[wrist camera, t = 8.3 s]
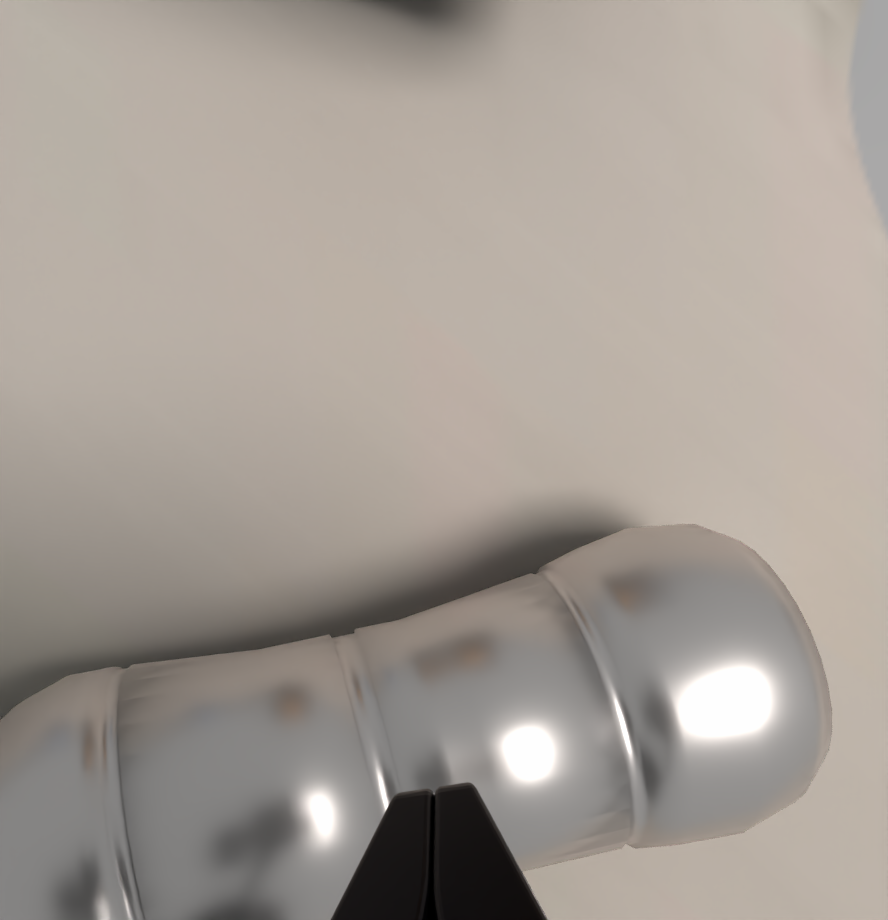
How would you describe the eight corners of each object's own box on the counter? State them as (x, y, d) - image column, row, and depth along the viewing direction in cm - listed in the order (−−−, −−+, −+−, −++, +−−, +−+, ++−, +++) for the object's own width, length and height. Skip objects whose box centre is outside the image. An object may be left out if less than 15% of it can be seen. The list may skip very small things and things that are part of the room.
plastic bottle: (792, 820, 20) (-118, 1144, 16) (670, 570, 24) (-109, 789, 20) (937, 756, 15) (-373, 1218, 11) (753, 443, 18) (-302, 710, 14)
